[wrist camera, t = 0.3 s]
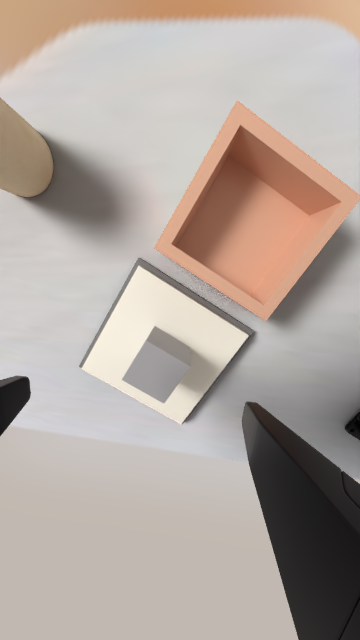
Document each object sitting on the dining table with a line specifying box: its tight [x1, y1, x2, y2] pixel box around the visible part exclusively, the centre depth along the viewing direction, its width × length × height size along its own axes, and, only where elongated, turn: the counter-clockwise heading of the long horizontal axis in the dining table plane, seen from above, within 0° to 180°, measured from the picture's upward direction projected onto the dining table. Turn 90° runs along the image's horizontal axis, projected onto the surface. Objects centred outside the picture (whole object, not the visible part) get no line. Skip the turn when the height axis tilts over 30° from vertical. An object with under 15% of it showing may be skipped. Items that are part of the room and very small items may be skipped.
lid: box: [81, 265, 249, 424], centre depth 18 cm, size 12×12×5 cm
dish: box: [154, 100, 360, 321], centre depth 16 cm, size 10×10×4 cm
